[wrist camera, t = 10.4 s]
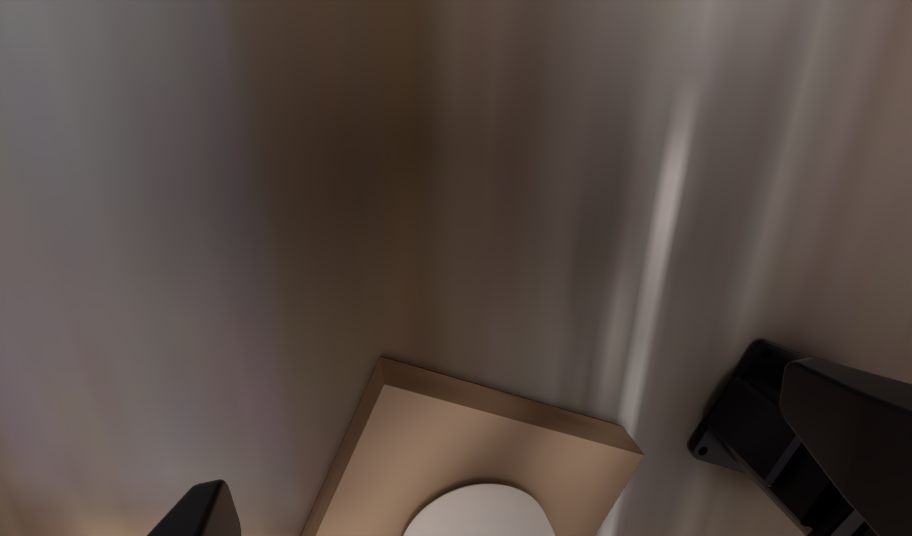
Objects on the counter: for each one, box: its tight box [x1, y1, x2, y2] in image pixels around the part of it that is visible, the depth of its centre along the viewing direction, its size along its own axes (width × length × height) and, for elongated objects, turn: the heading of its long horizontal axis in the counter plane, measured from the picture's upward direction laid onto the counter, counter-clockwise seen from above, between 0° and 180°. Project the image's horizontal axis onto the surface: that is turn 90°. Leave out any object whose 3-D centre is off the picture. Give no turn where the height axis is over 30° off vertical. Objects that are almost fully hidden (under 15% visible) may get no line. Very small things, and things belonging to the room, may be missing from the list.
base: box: [301, 357, 644, 536], centre depth 25 cm, size 12×12×2 cm
